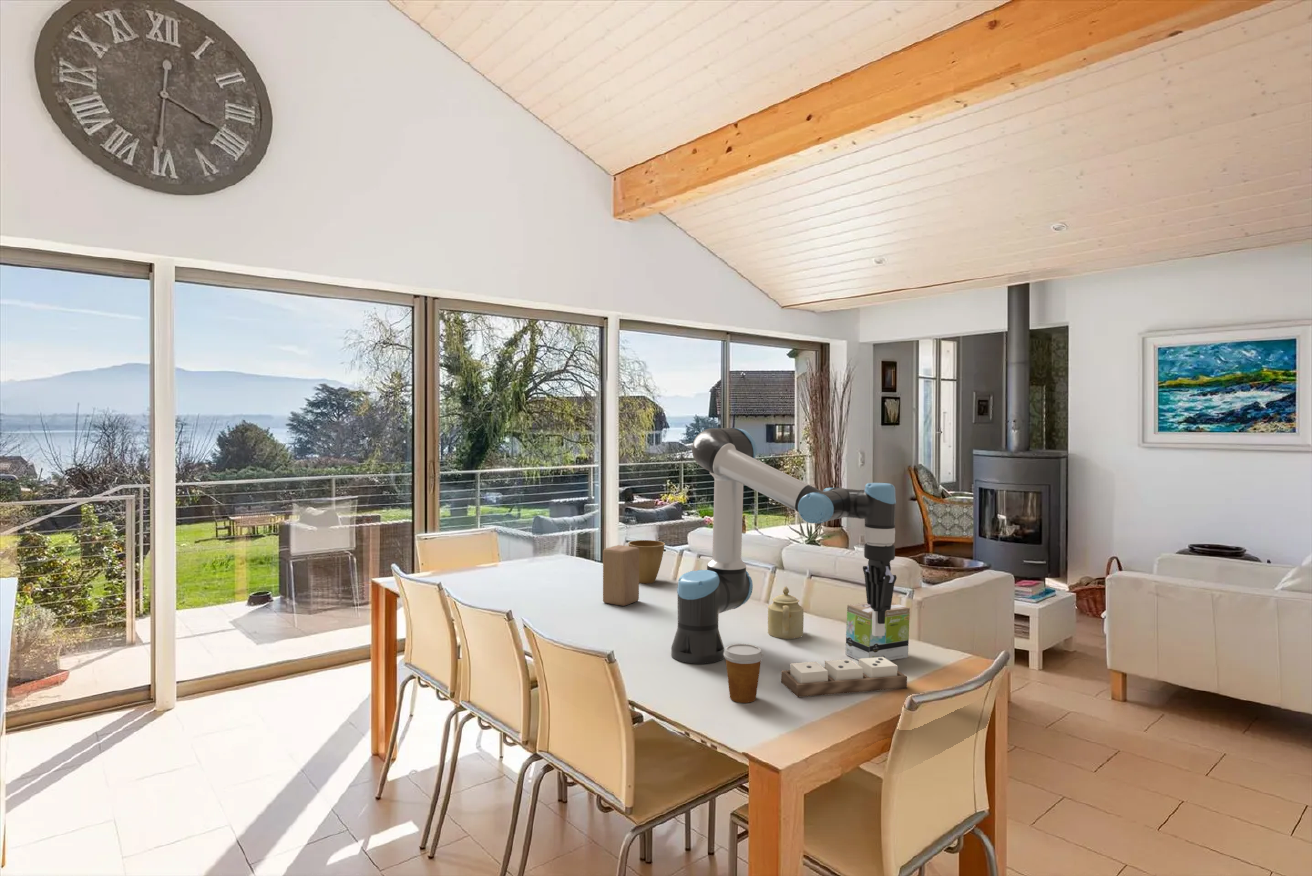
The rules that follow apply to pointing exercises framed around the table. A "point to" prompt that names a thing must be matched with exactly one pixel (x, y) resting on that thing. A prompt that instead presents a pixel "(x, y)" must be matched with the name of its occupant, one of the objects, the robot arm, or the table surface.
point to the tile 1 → (808, 672)
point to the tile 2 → (843, 669)
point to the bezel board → (843, 685)
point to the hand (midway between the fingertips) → (878, 634)
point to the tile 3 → (878, 667)
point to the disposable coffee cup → (743, 671)
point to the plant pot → (648, 559)
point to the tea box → (871, 646)
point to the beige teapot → (785, 617)
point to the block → (620, 575)
